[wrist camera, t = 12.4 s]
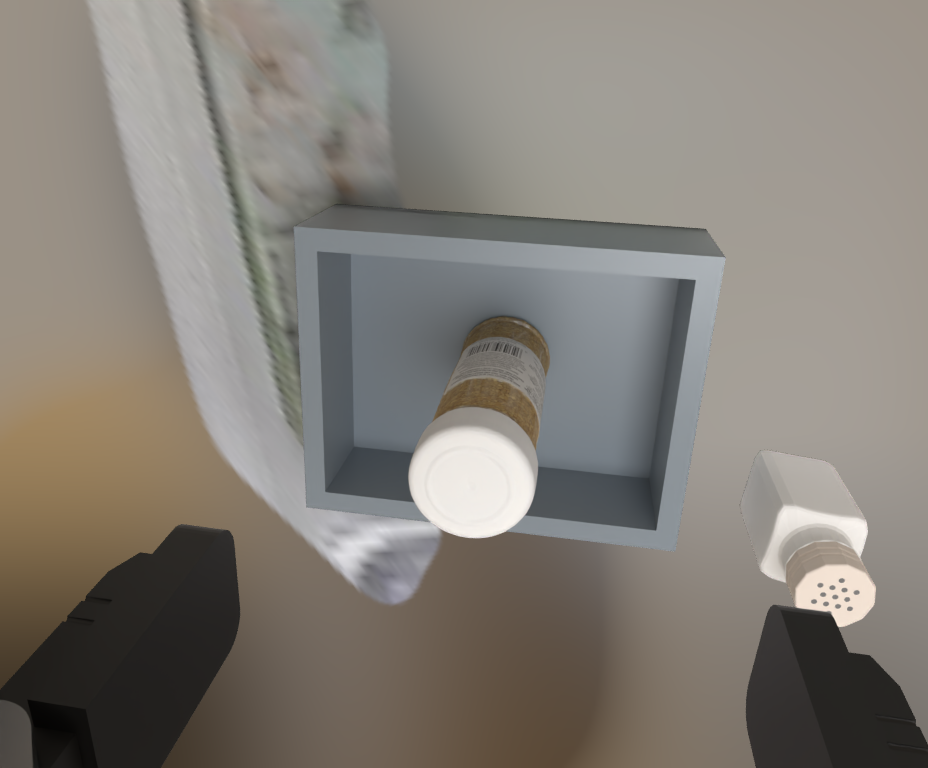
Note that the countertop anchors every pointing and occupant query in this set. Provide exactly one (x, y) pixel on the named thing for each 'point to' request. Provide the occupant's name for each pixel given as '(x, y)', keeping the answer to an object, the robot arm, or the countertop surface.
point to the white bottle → (808, 534)
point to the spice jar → (484, 433)
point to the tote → (523, 297)
